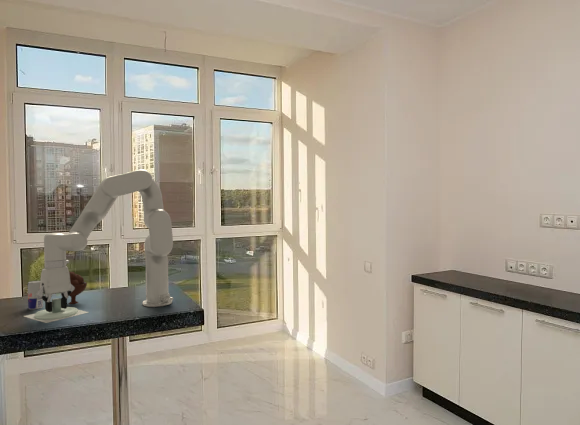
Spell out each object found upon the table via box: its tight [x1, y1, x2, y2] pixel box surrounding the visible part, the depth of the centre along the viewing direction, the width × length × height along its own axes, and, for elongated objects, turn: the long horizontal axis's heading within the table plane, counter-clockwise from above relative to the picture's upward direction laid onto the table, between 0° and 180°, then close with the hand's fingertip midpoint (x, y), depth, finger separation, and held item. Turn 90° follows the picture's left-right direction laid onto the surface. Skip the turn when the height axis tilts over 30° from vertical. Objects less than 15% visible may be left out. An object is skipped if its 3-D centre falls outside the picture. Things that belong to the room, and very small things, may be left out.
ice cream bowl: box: [67, 271, 88, 305], centre depth 185 cm, size 11×11×15 cm
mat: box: [22, 309, 90, 324], centre depth 167 cm, size 17×17×1 cm
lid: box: [34, 297, 79, 320], centre depth 167 cm, size 15×15×6 cm
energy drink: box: [27, 280, 44, 310], centre depth 177 cm, size 5×5×12 cm
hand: (56, 309), depth 167 cm, fingers open, 5 cm apart
